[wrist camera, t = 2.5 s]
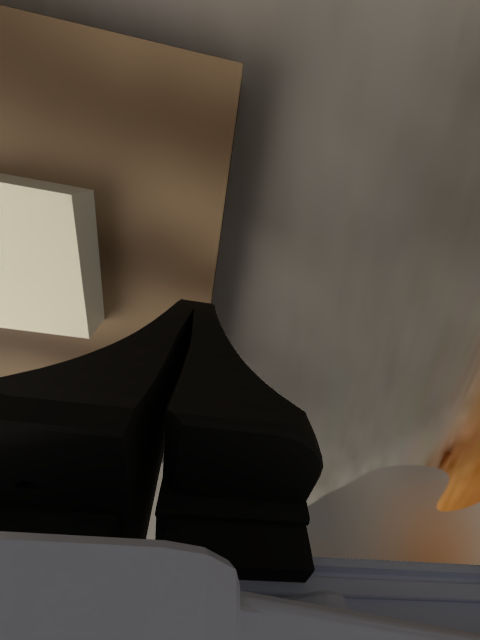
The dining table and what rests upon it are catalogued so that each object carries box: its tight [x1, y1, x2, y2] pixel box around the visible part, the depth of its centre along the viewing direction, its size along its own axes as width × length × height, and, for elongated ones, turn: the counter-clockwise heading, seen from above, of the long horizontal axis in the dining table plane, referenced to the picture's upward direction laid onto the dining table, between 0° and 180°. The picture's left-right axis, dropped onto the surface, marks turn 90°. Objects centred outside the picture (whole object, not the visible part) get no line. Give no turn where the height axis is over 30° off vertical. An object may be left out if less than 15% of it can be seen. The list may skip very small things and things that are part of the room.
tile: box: [0, 173, 105, 339], centre depth 13 cm, size 7×5×2 cm
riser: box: [0, 5, 243, 376], centre depth 15 cm, size 18×16×3 cm
